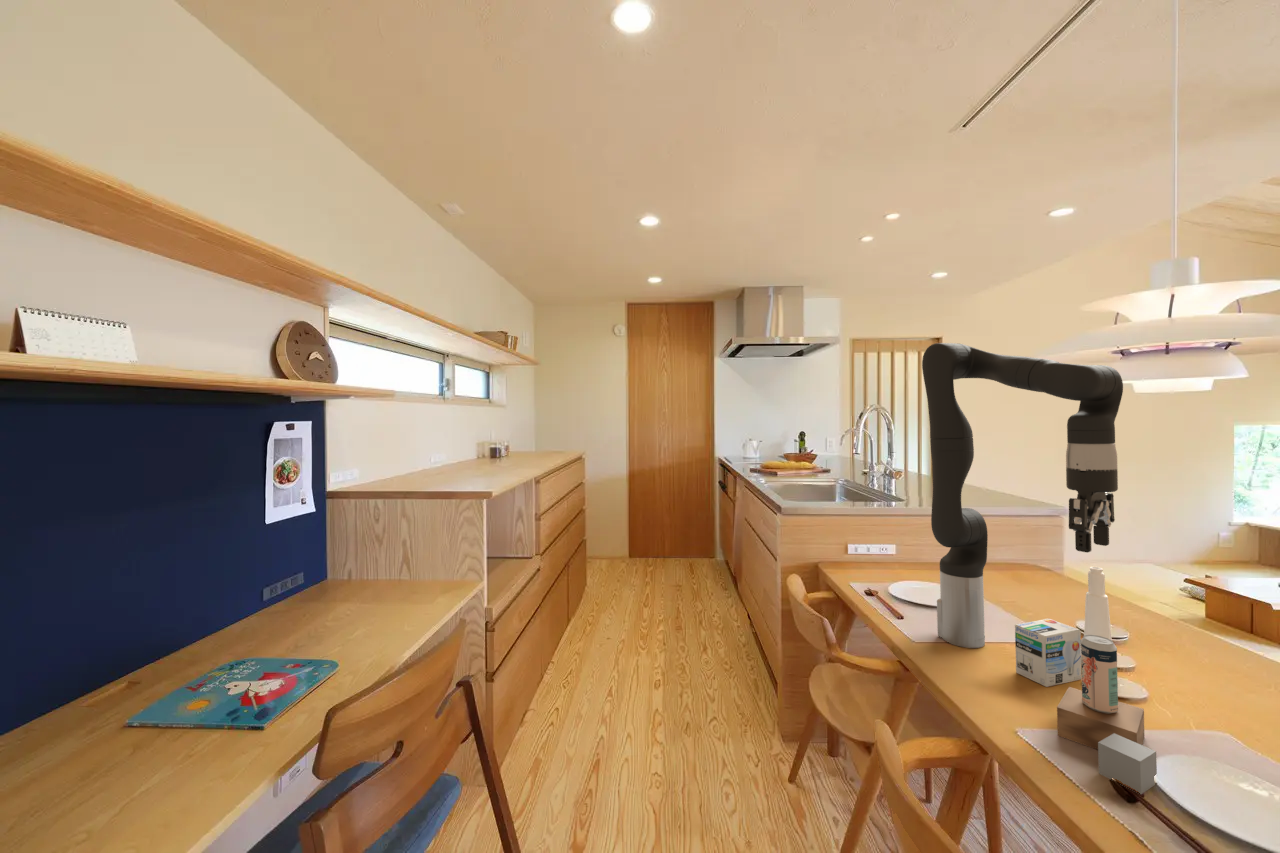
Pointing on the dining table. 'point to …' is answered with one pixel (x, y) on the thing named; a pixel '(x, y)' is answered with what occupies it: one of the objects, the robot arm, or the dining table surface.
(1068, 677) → the light bulb box
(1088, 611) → the cosmetic bottle
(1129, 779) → the slate block
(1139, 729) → the walnut block
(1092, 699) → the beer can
